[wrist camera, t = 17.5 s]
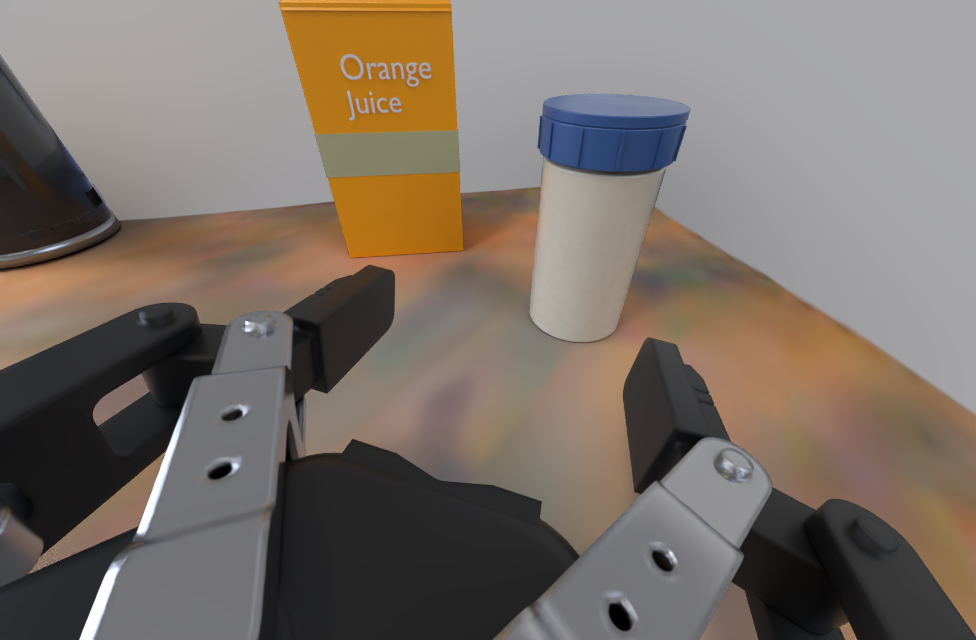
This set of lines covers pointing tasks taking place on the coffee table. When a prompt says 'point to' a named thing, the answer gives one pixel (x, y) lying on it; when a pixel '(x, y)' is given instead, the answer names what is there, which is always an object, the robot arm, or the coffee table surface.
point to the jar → (588, 247)
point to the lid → (612, 131)
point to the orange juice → (383, 118)
